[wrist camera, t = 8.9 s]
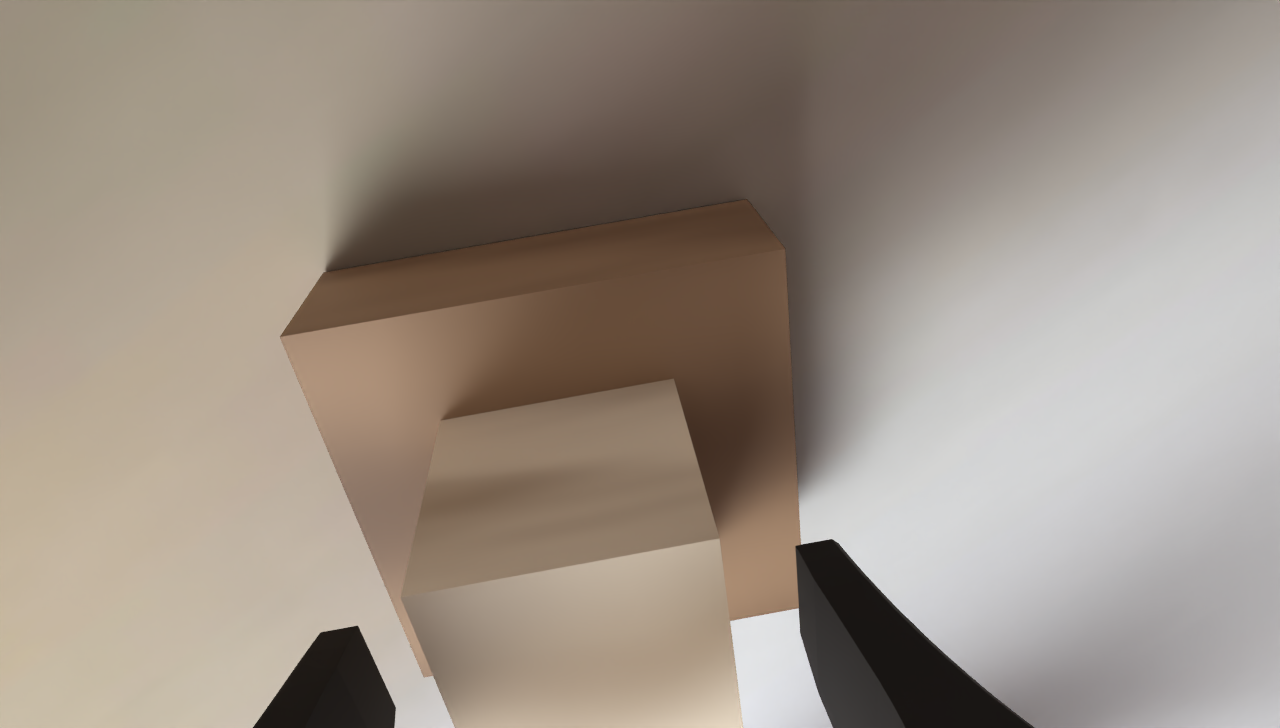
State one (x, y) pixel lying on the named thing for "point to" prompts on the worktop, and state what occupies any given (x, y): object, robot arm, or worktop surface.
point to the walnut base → (566, 369)
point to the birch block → (573, 569)
